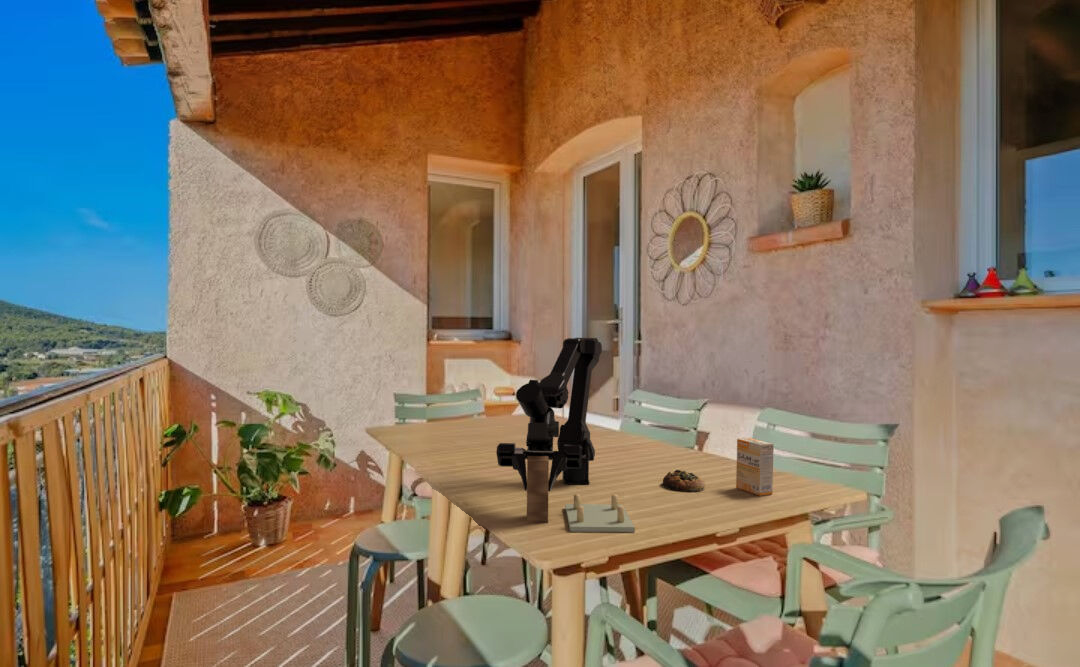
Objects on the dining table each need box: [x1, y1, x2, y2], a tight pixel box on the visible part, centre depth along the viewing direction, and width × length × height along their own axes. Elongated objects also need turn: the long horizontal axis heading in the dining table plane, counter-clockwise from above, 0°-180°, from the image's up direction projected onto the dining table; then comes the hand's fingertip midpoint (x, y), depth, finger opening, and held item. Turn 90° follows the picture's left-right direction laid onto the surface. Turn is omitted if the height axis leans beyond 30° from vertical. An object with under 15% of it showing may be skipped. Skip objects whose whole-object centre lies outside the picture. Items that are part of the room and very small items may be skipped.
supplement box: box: [735, 437, 775, 497], centre depth 144 cm, size 8×5×13 cm, turn 25°
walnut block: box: [526, 456, 550, 524], centre depth 120 cm, size 4×4×13 cm
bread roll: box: [662, 469, 706, 492], centre depth 148 cm, size 11×11×5 cm
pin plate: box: [564, 493, 636, 533], centre depth 120 cm, size 13×15×4 cm
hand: (537, 490), depth 119 cm, fingers closed on walnut block, 5 cm apart
